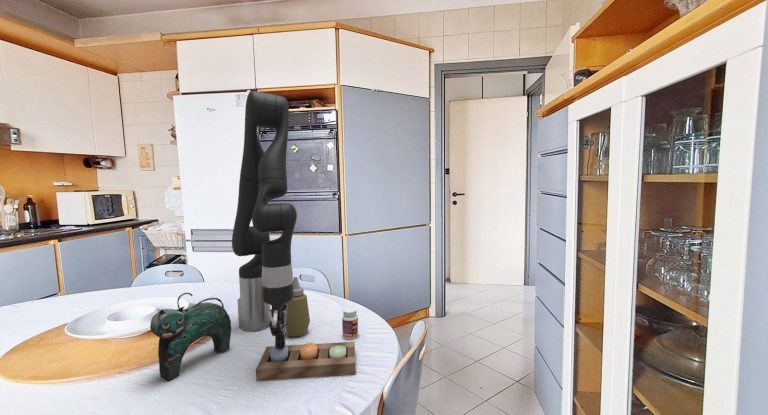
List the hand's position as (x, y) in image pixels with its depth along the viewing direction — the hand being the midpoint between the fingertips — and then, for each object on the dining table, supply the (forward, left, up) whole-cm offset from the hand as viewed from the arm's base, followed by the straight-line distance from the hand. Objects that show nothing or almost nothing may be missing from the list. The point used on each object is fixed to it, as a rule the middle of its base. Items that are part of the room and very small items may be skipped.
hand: (280, 347), depth 88 cm
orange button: (+7, +3, -3) cm, 8 cm away
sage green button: (+14, +5, -5) cm, 15 cm away
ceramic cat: (-23, -3, -6) cm, 24 cm away
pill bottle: (+12, +21, -6) cm, 24 cm away
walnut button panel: (+7, +3, -5) cm, 9 cm away
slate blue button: (0, 0, -3) cm, 3 cm away
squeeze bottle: (-5, +19, -6) cm, 20 cm away
